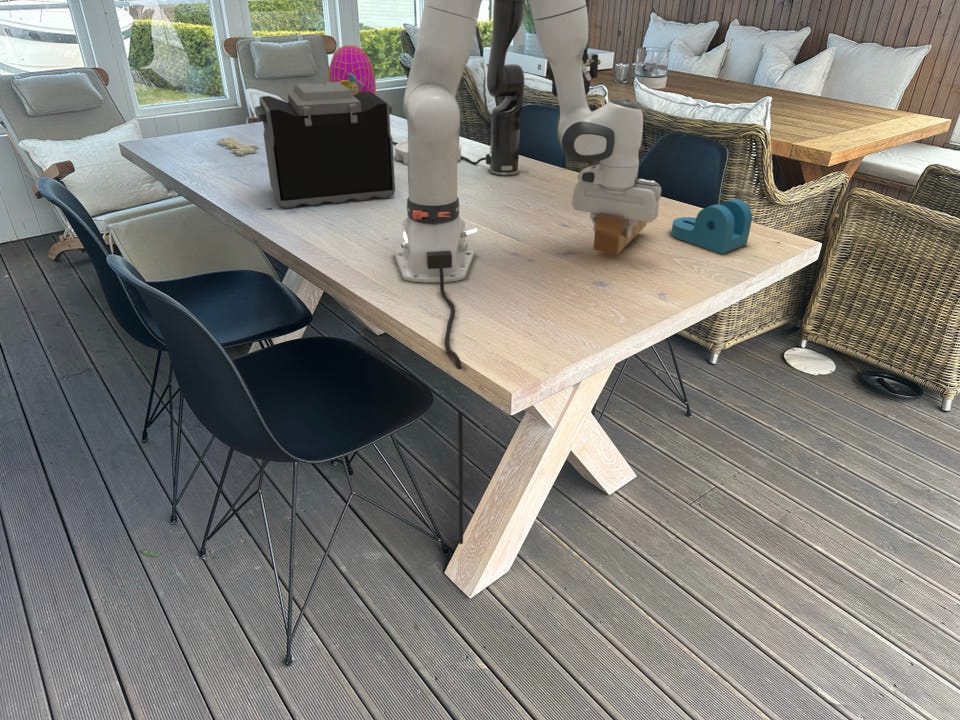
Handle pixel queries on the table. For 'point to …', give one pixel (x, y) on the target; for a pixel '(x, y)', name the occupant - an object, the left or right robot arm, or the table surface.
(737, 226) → the camera mount
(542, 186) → the table surface
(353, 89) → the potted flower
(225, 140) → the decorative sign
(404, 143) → the ashtray
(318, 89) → the electronic device
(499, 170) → the right robot arm
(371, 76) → the decorative egg
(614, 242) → the box
